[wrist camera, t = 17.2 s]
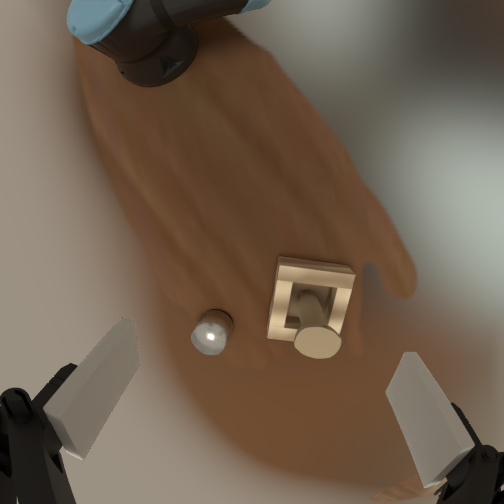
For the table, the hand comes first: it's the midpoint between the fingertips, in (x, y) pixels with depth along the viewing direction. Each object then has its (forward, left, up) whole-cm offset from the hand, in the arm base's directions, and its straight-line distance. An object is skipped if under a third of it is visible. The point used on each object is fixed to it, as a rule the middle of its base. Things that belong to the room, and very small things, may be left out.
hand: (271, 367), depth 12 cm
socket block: (+12, +9, -37) cm, 40 cm away
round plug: (+20, -7, -36) cm, 42 cm away
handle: (+12, +8, -36) cm, 39 cm away
